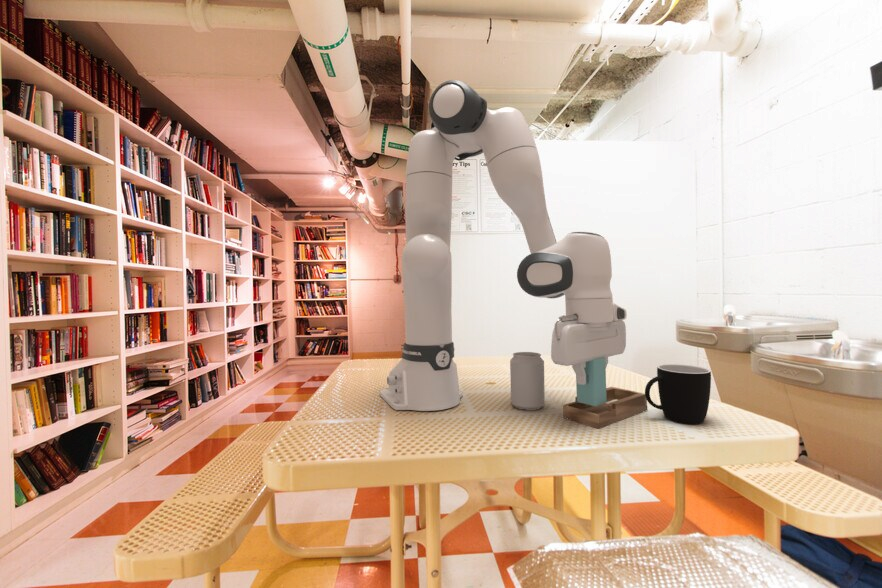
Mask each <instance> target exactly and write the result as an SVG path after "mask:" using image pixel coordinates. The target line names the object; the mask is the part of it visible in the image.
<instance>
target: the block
mask: <svg viewBox="0 0 882 588" xmlns="http://www.w3.org/2000/svg"><path fill="white" fill-rule="evenodd" d="M606 369H607V367H606V366H605V357H602V358H598V359H593V360H592V361H588V362H586V367H585V368H584V370H585V373H586V375H589V383H588V384H585V385H581V384H578V383H577V375H576V374H575V383H576V384H575V386H576V397H577V402H580V403H584V404H587V405H591V406H598V405H600V404H603V403H606V402H607V397H606V388H607V373H606V372H607V371H606Z"/></svg>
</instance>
